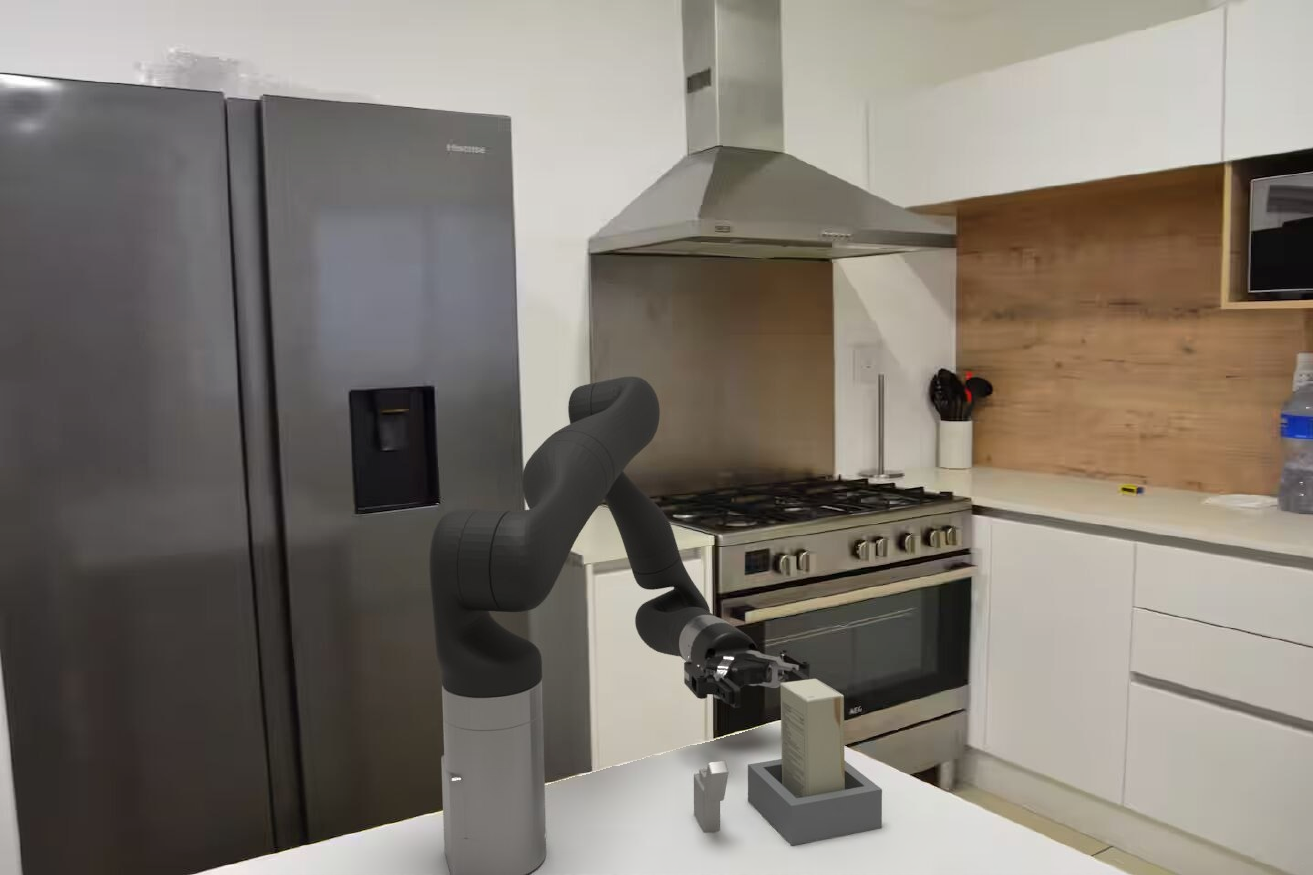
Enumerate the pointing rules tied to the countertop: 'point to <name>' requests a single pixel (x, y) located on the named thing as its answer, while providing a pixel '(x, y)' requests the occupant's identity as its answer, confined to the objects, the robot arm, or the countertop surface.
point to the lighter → (710, 795)
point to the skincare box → (812, 738)
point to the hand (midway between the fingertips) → (773, 694)
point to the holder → (814, 805)
